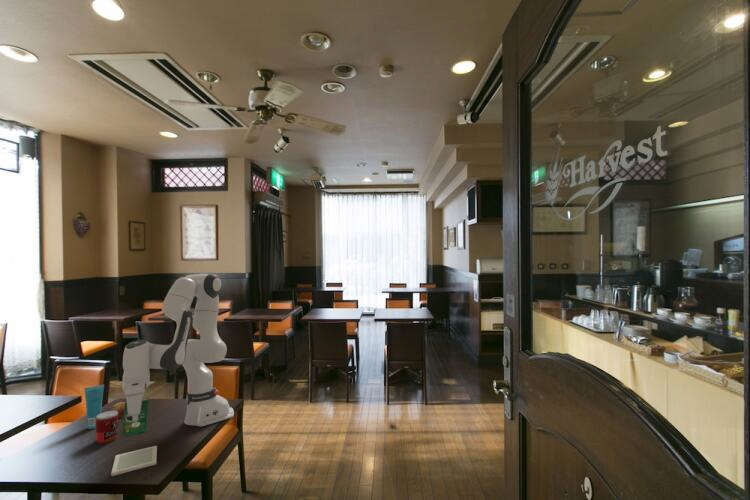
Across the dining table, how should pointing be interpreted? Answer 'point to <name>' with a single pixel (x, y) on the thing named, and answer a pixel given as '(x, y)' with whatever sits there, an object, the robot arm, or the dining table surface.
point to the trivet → (134, 460)
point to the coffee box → (138, 425)
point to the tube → (93, 404)
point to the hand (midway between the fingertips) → (135, 418)
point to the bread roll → (119, 409)
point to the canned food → (106, 427)
